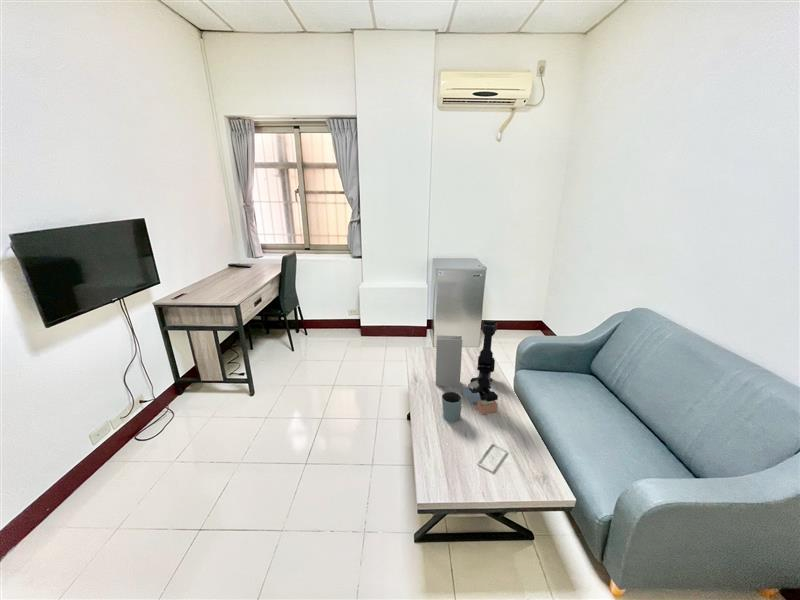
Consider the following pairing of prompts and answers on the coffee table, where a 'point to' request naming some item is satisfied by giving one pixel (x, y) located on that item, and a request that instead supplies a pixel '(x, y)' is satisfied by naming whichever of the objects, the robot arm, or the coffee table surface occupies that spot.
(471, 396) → the blue book
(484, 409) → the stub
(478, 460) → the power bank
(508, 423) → the coffee table surface
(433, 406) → the coffee table surface
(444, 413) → the blue-grey cup
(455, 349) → the tall grey box
